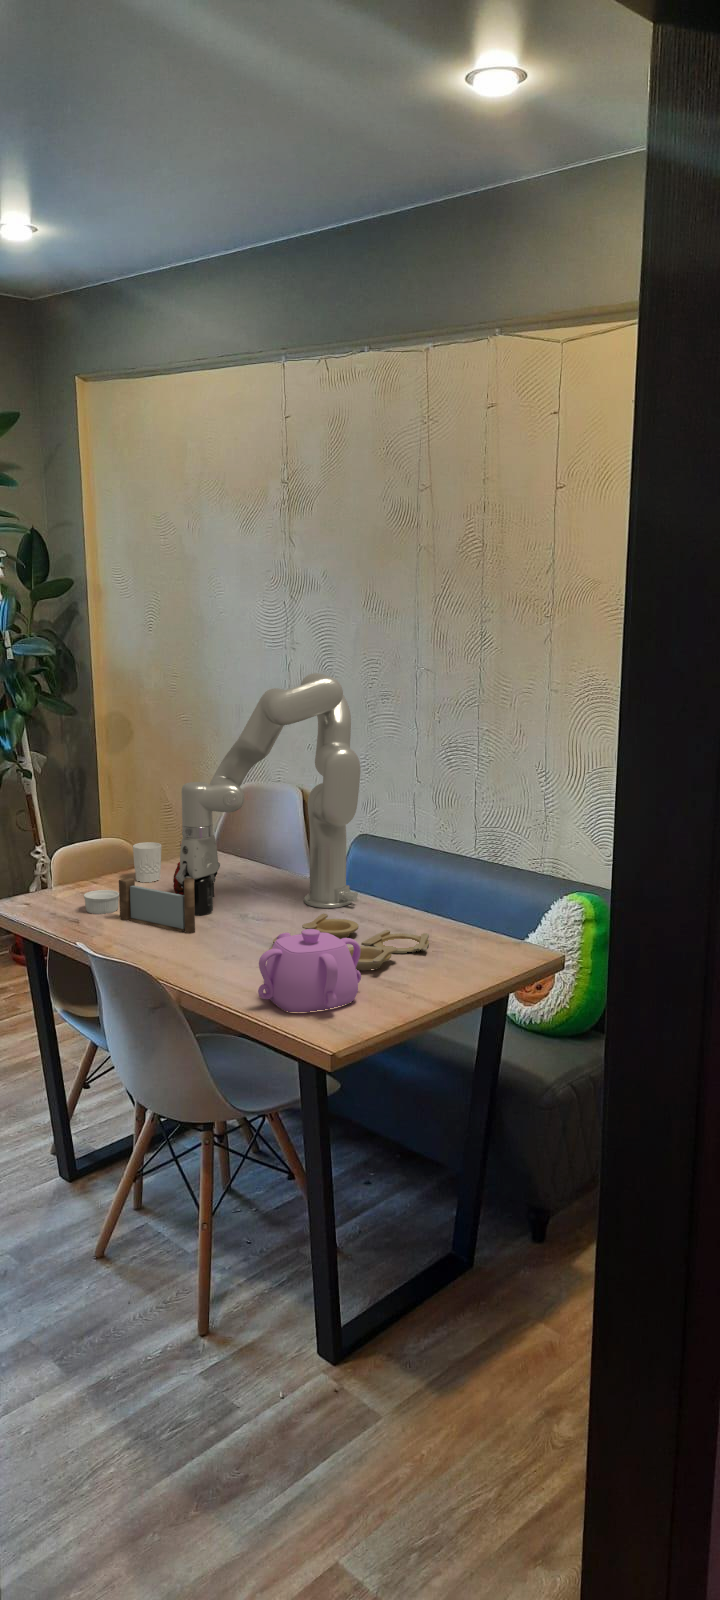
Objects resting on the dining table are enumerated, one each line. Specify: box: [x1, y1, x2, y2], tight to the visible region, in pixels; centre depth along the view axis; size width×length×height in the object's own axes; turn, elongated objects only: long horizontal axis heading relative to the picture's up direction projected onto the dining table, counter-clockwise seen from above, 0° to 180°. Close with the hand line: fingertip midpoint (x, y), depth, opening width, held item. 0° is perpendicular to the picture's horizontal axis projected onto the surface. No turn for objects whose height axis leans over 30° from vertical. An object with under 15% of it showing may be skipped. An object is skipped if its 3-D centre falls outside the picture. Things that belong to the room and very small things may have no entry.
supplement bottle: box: [194, 876, 214, 916], centre depth 283 cm, size 7×7×12 cm
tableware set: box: [268, 913, 430, 971], centre depth 256 cm, size 35×29×4 cm
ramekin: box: [83, 889, 119, 915], centre depth 285 cm, size 9×9×4 cm
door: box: [130, 885, 185, 929], centre depth 273 cm, size 17×3×8 cm, turn 58°
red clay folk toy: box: [172, 842, 183, 895], centre depth 300 cm, size 8×7×15 cm
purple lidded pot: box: [257, 929, 362, 1013], centre depth 224 cm, size 19×21×14 cm
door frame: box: [118, 877, 196, 934], centre depth 272 cm, size 23×3×13 cm, turn 58°
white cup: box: [132, 841, 162, 883], centre depth 315 cm, size 8×8×10 cm
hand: (199, 899), depth 284 cm, fingers closed on supplement bottle, 6 cm apart
